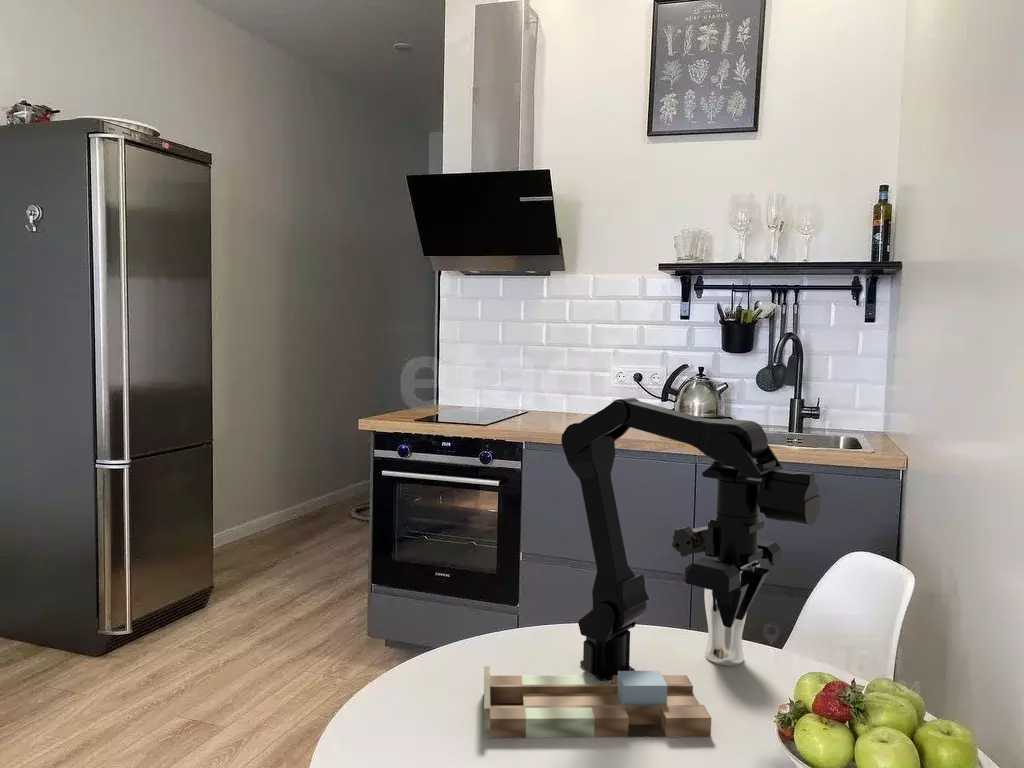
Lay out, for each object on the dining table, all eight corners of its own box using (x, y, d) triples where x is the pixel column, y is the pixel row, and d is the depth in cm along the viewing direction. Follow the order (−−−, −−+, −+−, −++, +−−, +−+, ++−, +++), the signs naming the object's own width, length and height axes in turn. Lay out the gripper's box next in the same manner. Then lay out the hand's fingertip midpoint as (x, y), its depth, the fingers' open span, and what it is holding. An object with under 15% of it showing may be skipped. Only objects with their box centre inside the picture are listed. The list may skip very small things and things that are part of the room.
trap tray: (686, 692, 114) (687, 665, 113) (710, 736, 101) (711, 707, 101) (483, 692, 113) (484, 666, 112) (483, 737, 100) (484, 708, 100)
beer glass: (747, 652, 128) (750, 564, 127) (745, 670, 121) (748, 577, 120) (704, 646, 130) (707, 560, 129) (700, 663, 124) (703, 572, 123)
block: (659, 694, 110) (659, 670, 109) (666, 710, 105) (667, 685, 105) (617, 694, 109) (617, 670, 109) (622, 710, 105) (623, 685, 105)
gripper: (713, 493, 118) (709, 592, 119) (651, 514, 104) (648, 627, 105) (785, 504, 111) (780, 610, 112) (729, 529, 97) (724, 650, 98)
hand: (733, 622), depth 107 cm, fingers open, 3 cm apart
